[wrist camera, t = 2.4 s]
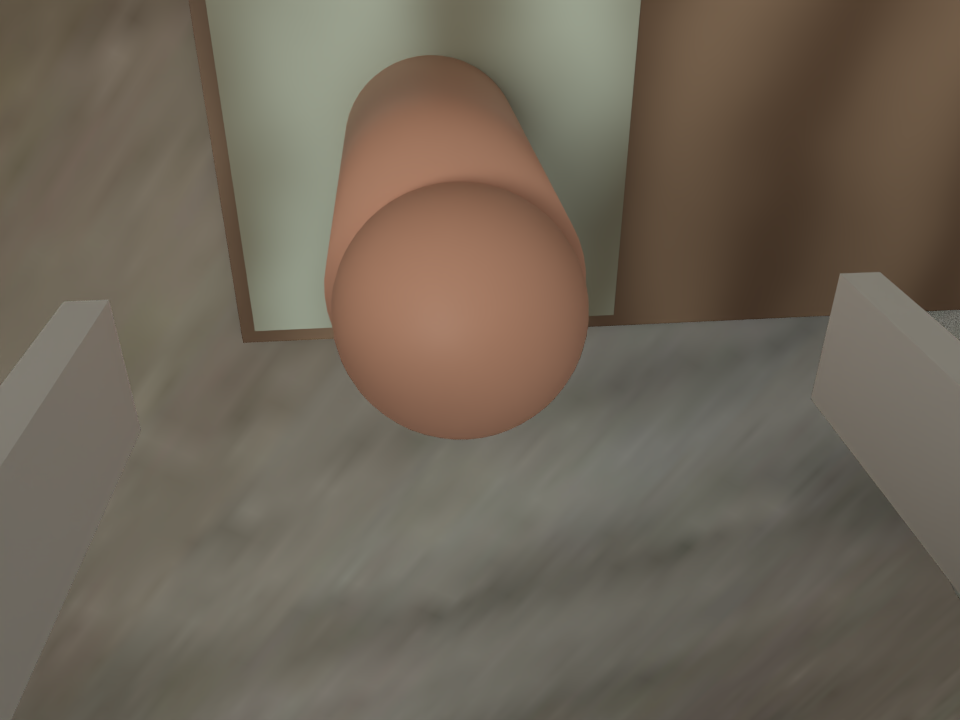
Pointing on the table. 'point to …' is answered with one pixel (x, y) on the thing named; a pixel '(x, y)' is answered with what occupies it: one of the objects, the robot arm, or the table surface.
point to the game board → (618, 142)
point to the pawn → (450, 256)
